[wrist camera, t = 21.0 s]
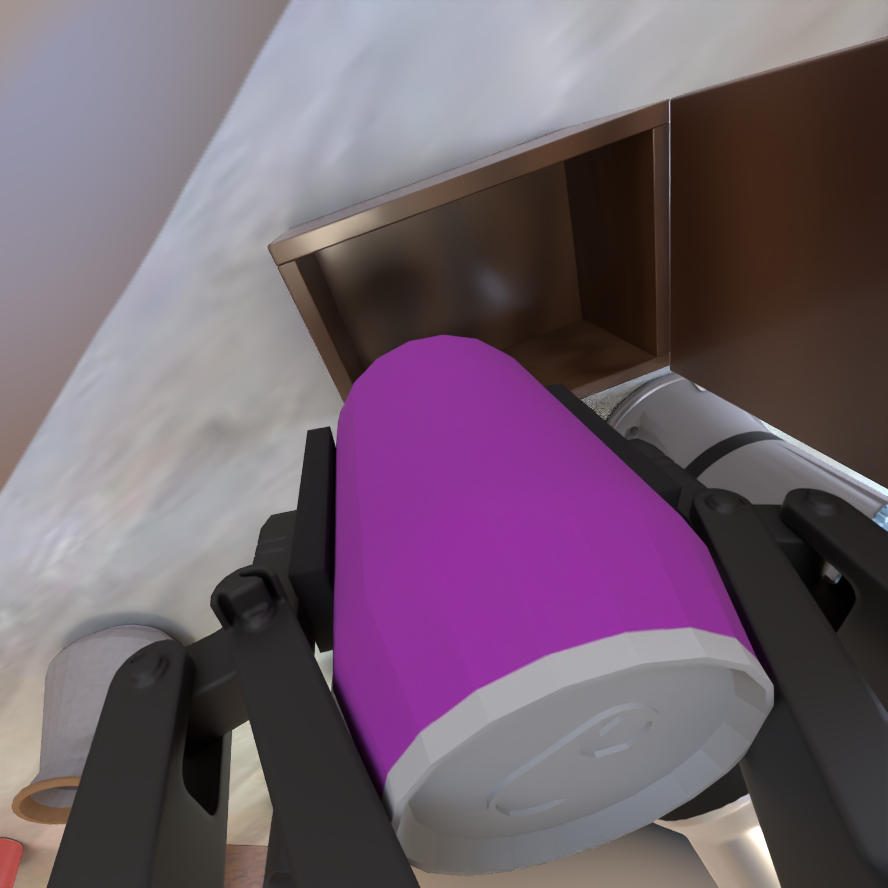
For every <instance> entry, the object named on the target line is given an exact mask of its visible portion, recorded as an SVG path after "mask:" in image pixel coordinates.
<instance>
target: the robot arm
mask: <svg viewBox="0 0 888 888" xmlns="http://www.w3.org/2000/svg"><path fill="white" fill-rule="evenodd" d="M545 388H546V389H547V390H548V391H549V392H550V393H551V394H552V395H553V396H554V397H555V398H556V399H557V400H559V401H560V402H561V403H562V404H563V405H564V406H565V407H566V408H567V409H568V410H569V411H570V412H571V413H572V414H573V415H574V416H575V417H577V418H578V419H579V420H580V421H581V422H582V423H583V424H584V425H585V426H586V427H587V428H588V429H589V430H590V431H591V432H592V433H594V434H595V435H596V436H597V437H598V438H599V439H600V440H601V441H602V442H603V443H604V444H605V445H606V446H607V447H608V448H609V449H611V450H612V451H613V452H614V453H615V454H616V455H617V456H618V457H619V458H620V459H621V460H622V461H623V462H624V463H625V464H626V465H627V466H629V467H630V468H631V469H632V470H633V471H634V472H635V473H636V474H637V475H638V476H639V477H640V478H641V479H642V480H643V481H644V482H646V483H647V484H648V485H649V486H650V487H651V488H652V489H653V490H654V491H655V492H656V493H657V494H658V495H659V496H660V497H661V498H663V499H664V500H665V501H666V502H667V503H668V504H669V505H670V506H671V507H672V508H673V509H674V510H675V511H676V512H677V513H678V514H679V515H681V517H682V518H683V519H684V520H685V521H686V522H687V524H688V525H689V526H690V527H691V528H692V530H693V531H694V532H695V533H696V534H697V535H698V537H699V538H700V539H701V540H702V541H703V543H704V544H705V545H706V546H707V548H708V550H709V553H710V555H711V557H712V559H713V561H714V564H715V566H716V568H717V570H718V573H719V575H720V577H721V579H722V582H723V584H724V586H725V588H726V590H727V593H728V595H729V597H730V599H731V602H732V604H733V606H734V608H735V611H736V613H737V615H738V617H739V619H740V622H741V624H742V626H743V628H744V631H745V633H746V635H747V637H748V639H749V642H750V644H751V646H752V648H753V651H754V653H755V655H756V657H757V660H758V661H759V663H760V664H761V666H762V668H763V669H764V671H765V673H766V674H767V676H768V677H769V679H770V681H771V682H772V684H773V686H774V706H773V708H772V709H771V711H770V713H769V715H768V716H767V718H766V720H765V721H764V723H763V725H762V727H761V728H760V730H759V732H758V734H757V735H756V737H755V739H754V740H753V742H752V744H751V746H750V747H749V749H748V751H747V752H746V754H745V756H744V757H743V758H742V759H741V760H740V761H739V762H738V763H737V764H736V765H735V766H734V767H733V768H732V769H731V770H730V771H729V772H728V773H726V774H725V775H724V776H722V777H721V778H720V779H718V780H717V781H716V782H714V783H713V784H712V785H710V786H709V787H708V788H706V789H705V790H704V791H702V792H701V793H700V794H698V795H697V796H696V797H694V798H693V799H691V800H690V801H688V802H686V803H684V804H683V805H681V806H679V807H678V808H676V809H674V810H672V811H671V812H669V813H667V814H666V815H664V816H662V817H660V818H659V819H657V820H655V821H653V822H654V823H656V824H658V825H661V826H663V827H666V828H669V829H671V830H674V831H677V832H679V833H682V834H683V835H685V836H686V837H687V838H688V839H689V841H690V842H691V844H692V845H693V847H694V849H695V850H696V852H697V854H698V855H699V857H700V858H701V860H702V862H703V863H704V865H705V866H706V868H707V870H708V871H709V873H710V874H711V876H712V877H713V879H714V881H715V882H716V884H717V885H718V887H719V888H888V496H886V495H884V494H882V493H880V492H878V491H877V490H875V489H873V488H871V487H869V486H867V485H866V484H864V483H862V482H860V481H858V480H856V479H855V478H853V477H851V476H849V475H847V474H845V473H844V472H842V471H840V470H838V469H836V468H834V467H833V466H831V465H829V464H827V463H825V462H823V461H821V460H820V459H818V458H816V457H814V456H812V455H810V454H809V453H807V452H805V451H803V450H801V449H799V448H798V447H796V446H794V445H792V444H790V443H788V442H786V441H784V440H783V439H781V438H779V437H777V436H776V435H774V434H772V433H771V432H769V431H768V429H767V428H766V427H765V426H764V425H763V423H762V422H761V421H760V420H759V419H758V418H757V417H755V416H753V415H751V414H749V413H748V412H746V411H744V410H742V409H740V408H738V407H737V406H735V405H733V404H731V403H729V402H728V401H726V400H724V399H722V398H720V397H718V396H717V395H715V394H713V393H711V392H709V391H707V390H706V389H704V388H702V387H700V386H698V385H696V384H695V383H693V382H691V381H689V380H687V379H685V378H684V377H682V376H680V375H678V374H676V373H672V374H668V375H665V376H662V377H660V378H657V379H655V380H653V381H651V382H649V383H647V384H646V385H644V386H642V387H641V388H639V389H638V390H636V391H635V392H634V393H632V394H631V395H630V396H629V397H628V398H626V399H625V400H624V401H623V402H622V403H621V404H620V405H619V406H618V407H617V408H616V410H615V411H614V412H613V413H612V415H611V416H610V417H609V419H608V420H607V422H606V421H605V420H603V419H602V418H601V417H600V416H599V415H598V414H596V413H595V412H594V411H593V410H592V409H591V408H589V407H588V406H587V405H586V404H585V403H584V402H582V401H581V400H580V399H579V398H578V397H576V396H575V395H574V394H573V393H572V392H571V391H569V390H568V389H567V388H566V387H565V386H564V385H562V384H556V385H550V386H545ZM335 470H336V447H335V443H334V439H333V436H332V432H331V428H330V426H329V427H324V428H318V429H313V430H308V431H307V438H306V446H305V453H304V461H303V468H302V476H301V483H300V490H299V498H298V505H297V510H294V511H289V512H284V513H279V514H275V515H271V516H270V517H269V519H268V520H267V521H266V523H265V524H264V525H263V527H262V528H261V531H260V535H259V539H258V545H257V548H256V552H255V557H254V560H253V565H249V566H246V567H243V568H240V569H238V570H236V571H234V572H233V573H231V574H230V575H228V576H226V577H225V578H224V579H223V580H222V581H221V582H220V583H219V584H218V585H217V586H216V588H215V590H214V592H213V593H212V595H211V602H210V606H211V608H212V610H213V611H214V613H215V615H216V617H217V618H218V620H219V622H220V623H221V625H222V628H221V629H220V630H218V631H216V632H215V633H213V634H211V635H209V636H207V637H205V638H203V639H201V640H199V641H197V642H195V643H193V644H191V645H189V646H187V647H185V648H184V647H183V646H182V645H181V644H180V643H179V642H178V641H175V640H170V639H166V640H161V641H156V642H153V643H151V644H149V645H147V646H145V647H143V648H141V649H140V650H138V651H137V652H136V653H134V654H133V655H132V656H130V657H129V658H128V659H127V660H126V661H125V662H124V663H123V664H122V665H121V667H120V668H119V669H118V670H117V671H116V673H115V675H114V677H113V679H112V681H111V683H110V685H109V689H108V692H107V695H106V698H105V701H104V705H103V708H102V711H101V714H100V717H99V721H98V724H97V727H96V730H95V734H94V737H93V740H92V743H91V746H90V750H89V753H88V756H87V759H86V763H85V766H84V769H83V772H82V775H81V779H80V782H79V785H78V788H77V792H76V795H75V798H74V801H73V804H72V808H71V811H70V814H69V817H68V821H67V824H66V827H65V830H64V833H63V837H62V840H61V843H60V846H59V850H58V853H57V856H56V859H55V862H54V866H53V869H52V872H51V875H50V879H49V882H48V885H47V888H224V879H225V859H226V840H227V820H228V800H229V781H230V761H231V742H232V730H233V729H235V728H236V727H238V726H240V725H241V724H243V723H245V722H246V721H248V720H249V721H250V724H251V728H252V732H253V735H254V739H255V743H256V747H257V750H258V754H259V758H260V761H261V765H262V769H263V773H264V776H265V780H266V784H267V787H268V791H269V795H270V798H271V802H272V806H273V810H274V813H275V817H276V821H277V824H278V828H279V832H280V836H281V839H282V843H283V847H284V850H285V854H286V858H287V862H288V865H289V869H290V873H291V876H292V880H293V884H294V888H420V886H419V884H418V882H417V879H416V877H415V875H414V873H413V870H412V868H411V866H410V864H409V862H408V860H407V857H406V855H405V853H404V851H403V849H402V846H401V844H400V842H399V840H398V838H397V836H396V833H395V831H394V829H393V827H392V825H391V822H390V820H389V818H388V816H387V814H386V812H385V809H384V807H383V805H382V803H381V801H380V798H379V796H378V794H377V792H376V790H375V788H374V785H373V783H372V781H371V779H370V777H369V774H368V772H367V770H366V768H365V766H364V764H363V761H362V759H361V757H360V755H359V753H358V750H357V748H356V746H355V744H354V742H353V740H352V737H351V735H350V733H349V731H348V729H347V726H346V724H345V722H344V720H343V718H342V716H341V713H340V711H339V709H338V707H337V705H336V702H335V700H334V698H333V696H332V694H331V692H330V689H329V687H328V685H327V683H326V681H325V678H324V676H323V674H322V672H321V670H320V668H319V665H318V663H317V661H316V659H315V657H314V655H315V641H316V644H317V646H318V648H319V651H320V653H322V652H326V651H330V650H333V618H334V545H335Z"/></svg>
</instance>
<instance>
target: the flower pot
mask: <svg viewBox="0 0 888 888" xmlns="http://www.w3.org/2000/svg"><path fill="white" fill-rule="evenodd" d="M22 853H23V847H22V845H21V844H20V843H18V842H17V841H14V840H11V839H5V838H0V888H13V885H14V882H15V878H16V875H17V871H18V867H19V864H20V860H21V857H22Z"/></svg>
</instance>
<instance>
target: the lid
mask: <svg viewBox="0 0 888 888" xmlns="http://www.w3.org/2000/svg"><path fill="white" fill-rule="evenodd" d="M670 370H671V371H673V372H674V373H676V374H678V375H680V376H682V377H684V378H685V379H687V380H689V381H691V382H693V383H695V384H696V385H698V386H700V387H702V388H704V389H706V390H707V391H709V392H711V393H713V394H715V395H717V396H718V397H720V398H722V399H724V400H726V401H728V402H729V403H731V404H733V405H735V406H737V407H738V408H740V409H742V410H744V411H746V412H748V413H749V414H751V415H753V416H755V417H757V418H759V419H760V420H762V421H764V422H766V423H768V424H770V425H771V426H773V427H775V428H777V429H779V430H781V431H782V432H784V433H786V434H788V435H790V436H792V437H793V438H795V439H797V440H799V441H801V442H803V443H804V444H806V445H808V446H810V447H812V448H814V449H815V450H817V451H819V452H821V453H823V454H824V455H826V456H828V457H830V458H832V459H834V460H835V461H837V462H839V463H841V464H843V465H845V466H846V467H848V468H850V469H852V470H854V471H856V472H857V473H859V474H861V475H863V476H865V477H867V478H868V479H870V480H872V481H874V482H876V483H878V484H879V485H881V486H883V487H885V488H887V489H888V36H887V37H883V38H880V39H876V40H873V41H869V42H866V43H862V44H859V45H855V46H852V47H848V48H844V49H841V50H837V51H834V52H830V53H827V54H823V55H820V56H816V57H813V58H809V59H806V60H802V61H798V62H795V63H791V64H788V65H784V66H781V67H777V68H774V69H770V70H767V71H763V72H760V73H756V74H752V75H749V76H745V77H742V78H738V79H735V80H731V81H728V82H724V83H721V84H717V85H713V86H710V87H706V88H703V89H699V90H696V91H692V92H689V93H685V94H683V95H680V96H677V97H674V98H672V99H671V100H670Z"/></svg>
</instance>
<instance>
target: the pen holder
mask: <svg viewBox="0 0 888 888" xmlns="http://www.w3.org/2000/svg"><path fill="white" fill-rule="evenodd" d="M263 888H294V884H293V880H292V876H291V873H290V869H289V865H288V862H287V858H286V854H285V850H284V847H283V843H282V839H281V836H280V832H279V828H278V824H277V821H276V817H275V813H274V810H273V815H272V822H271V829H270V836H269V843H268V851H267V858H266V866H265V873H264V881H263Z"/></svg>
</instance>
